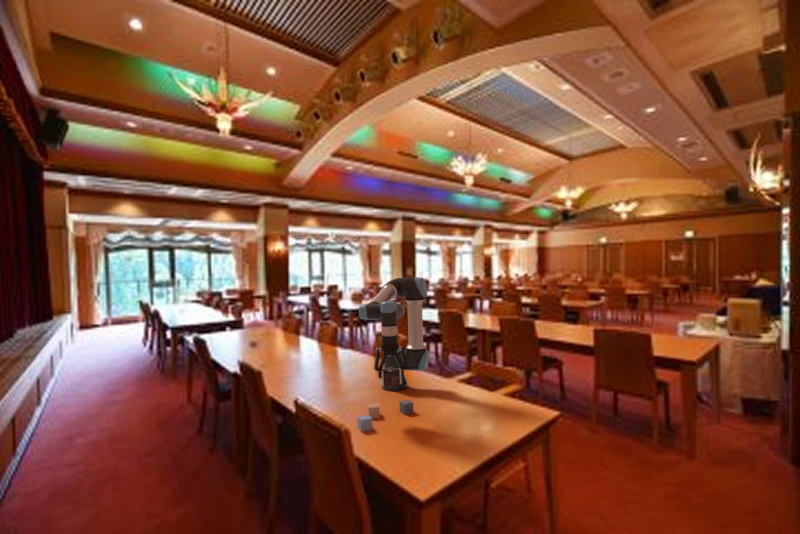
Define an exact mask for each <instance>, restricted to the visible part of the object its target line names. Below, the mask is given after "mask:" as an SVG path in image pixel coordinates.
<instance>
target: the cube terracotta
mask: <svg viewBox="0 0 800 534" xmlns="http://www.w3.org/2000/svg"><path fill="white" fill-rule="evenodd" d="M380 412H381V411H380V404H379V403H377V402H376V403H368V404H367V413H368V414H367V415H369V416H370V417H371V418H372V419H377V418H381V415H380V414H381V413H380Z"/></svg>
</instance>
